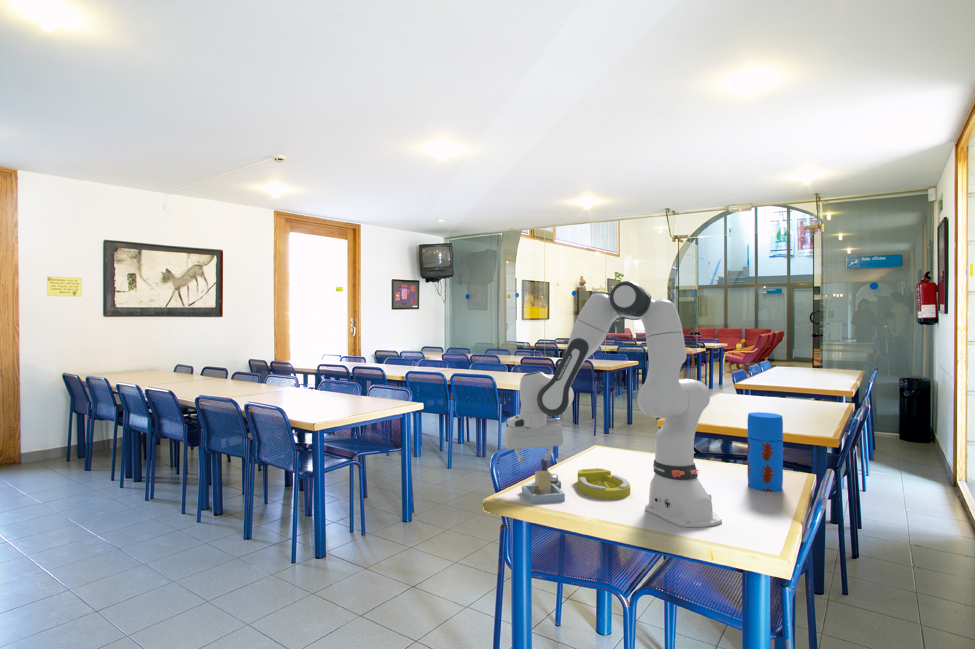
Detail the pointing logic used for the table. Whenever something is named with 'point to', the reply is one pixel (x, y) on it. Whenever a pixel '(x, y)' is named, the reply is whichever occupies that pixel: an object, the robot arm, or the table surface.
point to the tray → (543, 498)
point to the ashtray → (602, 484)
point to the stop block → (542, 482)
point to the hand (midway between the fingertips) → (534, 460)
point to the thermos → (765, 451)
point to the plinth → (558, 484)
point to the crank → (545, 467)
